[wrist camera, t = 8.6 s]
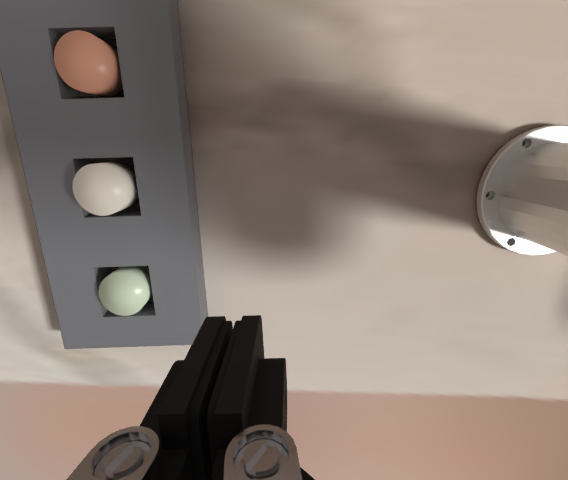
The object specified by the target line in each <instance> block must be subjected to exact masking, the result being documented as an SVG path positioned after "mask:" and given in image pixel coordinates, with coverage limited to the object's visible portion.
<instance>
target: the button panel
mask: <svg viewBox="0 0 568 480" xmlns="http://www.w3.org/2000/svg"><path fill="white" fill-rule="evenodd" d="M75 30H81V31H86V32H89V33H91V34H93V35H94V36H96V37H98V38H99V39H110V38H116V43H117V49H118V56H119V63H120V70H121V77H122V84H123V91H124V97H122V98H86V99H81V98H80V93H79V90H76V89H74V88H72V87H70V86H69V85H68V84H66V83H65V82H64V81H63V79H62V78H61V77H60V75H59V73H58V71H57V69H56V66H55V62H54V50H55V47H56V44H57V42H58V40H59V39H60V38H61V37H62V36H63V35H64V34H66V33H68V32H70V31H75ZM0 69H1V74H2V78H3V83H4V87H5V91H6V96H7V100H8V104H9V109H10V113H11V117H12V122H13V126H14V130H15V135H16V139H17V143H18V148H19V152H20V157H21V161H22V165H23V170H24V174H25V178H26V183H27V187H28V191H29V196H30V200H31V204H32V209H33V213H34V218H35V222H36V226H37V231H38V235H39V239H40V244H41V248H42V252H43V257H44V261H45V265H46V270H47V274H48V278H49V283H50V287H51V292H52V296H53V300H54V305H55V309H56V313H57V318H58V322H59V326H60V331H61V335H62V339H63V344H64V348H65V349H80V348H109V347H138V346H166V345H192V344H193V342H194V340H195V338H196V336H197V334H198V332H199V330H200V328H201V326H202V324H203V322H204V320H205V318H206V317H208V312H207V301H206V291H205V281H204V271H203V260H202V250H201V240H200V230H199V219H198V209H197V199H196V189H195V178H194V168H193V158H192V148H191V138H190V127H189V117H188V107H187V97H186V86H185V76H184V66H183V56H182V45H181V35H180V25H179V15H178V4H177V0H0ZM116 157H133V161H134V168H135V175H136V182H137V189H138V196H139V203H140V210H132V211H118V212H116V213H113V214H111V215H107V216H99V215H95V214H92V213H90V212H88V211H86V210H85V209H84V208H83V207H81V205H80V204H79V203H78V202H77V200H76V198H75V196H74V193H73V179H74V177H75V175H76V173H77V172H78V171H79V169H81V168H82V167H84V166H86V165H88V164H92V161H91V158H116ZM125 266H149V273H150V280H151V287H152V294H153V301H154V302H148V303H146V304H145V305H144V306H143V307H142V309H141V310H140V311H138V312H137V313H135V314H133V315H129V316H121V315H116V314H114V313H112V312H110V311H109V310H107V309H106V308H105V307H104V306H103V304H102V303H101V301H100V298H99V293H98V292H99V286H100V284H101V282H102V281H103V279H104V278H106V277H107V276H108V275H110V274H111V269H110V267H125Z"/></svg>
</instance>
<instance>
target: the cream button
mask: <svg viewBox="0 0 568 480" xmlns="http://www.w3.org/2000/svg"><path fill="white" fill-rule="evenodd" d="M73 193H74V196H75V198H76V200H77V202H78V203H79V204H80V205H81V207H83V208H84V209H85V210H86V211H88V212H90V213H92V214H95V215H99V216H107V215H111V214H113V213H116V212H118V211H121V210H123V209H125V208H128V207H130V206H131V205H132V204H134V203H135V201H136V200H137V198H138V189H137V182H136V175H135V174H134V172H133V171H132V170H131V169H130V168H129V167H127V166H126V165H124V164H121V163H118V162H105V163H95V164H88V165H86V166H84V167H82V168H81V169H79V171H78V172H77V173H76V175H75V177H74V179H73Z"/></svg>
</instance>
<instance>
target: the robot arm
mask: <svg viewBox="0 0 568 480" xmlns="http://www.w3.org/2000/svg"><path fill="white" fill-rule="evenodd" d="M486 194H487V195H486ZM477 212H478V217H479V221H480V223H481V225H482V227H483V229H484V231H485V232H486V233H487V235H488V236H489V237H490V238H491V239H492V240H493V241H494V242H496V243H497V244H498V245H500V246H502V247H504V248H506V249H508V250H510V251H513V252H515V253H518V254H524V255H543V254H548V253H553V252H555V251H556V252H559V253H562V254H564V255H567V256H568V126H566V125H551V126H543V127H538V128H534V129H531V130H529V131H526V132H524V133H522V134H519V135H518V136H516V137H515V138H513V139H512V140H510V141H509V142H507V143H506V144H505V145H504V146H503V147H502V148H501V149H500V150H499V151H498V152H497V153H496V154H495V155H494V157H493V158H492V159H491V160H490V162H489V163H488V165H487V167H486V169H485V171H484V172H483V175H482V177H481V180H480V183H479V186H478V192H477ZM67 480H314V479H313V478H312V477H311V476H310V475H309V474H308V473H307V472H305V471H304V470H303V469H302V468H301V467H300V465H299V459H298V454H297V448H296V445H295V443H294V440H293V438H292V437H291V436H290V435H289V434H288V433H287V377H286V360H285V358H270V359H264V348H263V333H262V319H261V315H258V316H243V317H242V320H241V321H236V322H235V325H234V328H233V327H232V322H231V321H226V318H225V316H220V317H206V318H205V320H204V322H203V324H202V326H201V328H200V330H199V332H198V334H197V336H196V338H195V340H194V342H193V344H192V346H191V348H190V350H189V352H188V354H187V356H186V358H185V360H178V361H175V363H174V364H173V366H172V367H171V369H170V371H169V373H168V375H167V377H166V378H165V380H164V382H163V384H162V386H161V388H160V390H159V392H158V393H157V395H156V397H155V399H154V401H153V402H152V405H151V406H150V408H149V410H148V412H147V413H146V415H145V417H144V419H143V421H142V423H141V424H140V426H135V427H129V428H125V429H121V430H119V431H116V432H114V433H112V434H110V435H108V436H107V437H106V438H104V439H103V440H101V441H100V442H99V443H98V444H97V445H96V446H95V447H94V448H93V449H92V450H91V451H90V452H89V453H88V454H87V456H86V457H85V458H84V459H83V460H82V462H81V463H80V464H79V465H78V466H77V468H76V469H75V470H74V471H73V472H72V474H71V475H70V476H69V477H68V479H67Z"/></svg>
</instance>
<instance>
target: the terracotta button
mask: <svg viewBox="0 0 568 480" xmlns="http://www.w3.org/2000/svg"><path fill="white" fill-rule="evenodd" d="M54 62H55V66H56V69H57V71H58V73H59V75H60V77H61V78H62V79H63V81H64V82H65V83H66V84H68V85H69V86H70V87H72V88H74V89H76V90H79V91H82V92H86V93H89V94H93V95H97V96H101V97H110V96H113V95H115V94H117V93H118V92H120V91H121V89H122V88H123V84H122V77H121V70H120V63H119V56H118V51H117V50H116V49H115V48H114V47H113V46H111V45H109V44H108V43H106V42H104V41H103V40H101V39H99V38H98V37H96V36H94V35H93V34H91V33H89V32H86V31H81V30H75V31H70V32H68V33H66V34H64V35H63V36H62V37H61V38H60V39H59V40H58V42H57V44H56V47H55V50H54Z"/></svg>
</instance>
